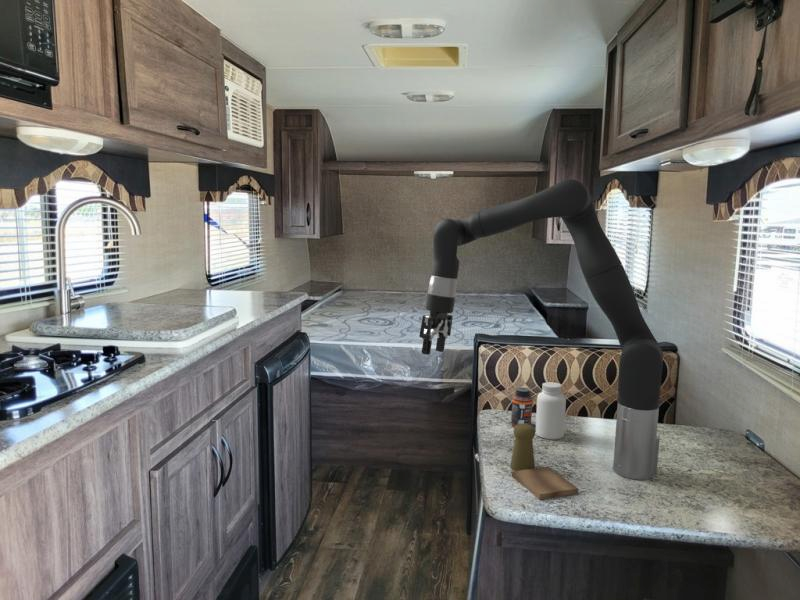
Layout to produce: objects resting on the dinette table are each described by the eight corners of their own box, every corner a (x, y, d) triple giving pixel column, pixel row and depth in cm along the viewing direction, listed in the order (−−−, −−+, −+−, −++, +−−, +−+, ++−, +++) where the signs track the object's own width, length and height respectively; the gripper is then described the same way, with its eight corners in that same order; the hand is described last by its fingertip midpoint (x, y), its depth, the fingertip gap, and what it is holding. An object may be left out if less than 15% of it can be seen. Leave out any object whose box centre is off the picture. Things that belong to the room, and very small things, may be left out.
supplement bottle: (525, 430, 167) (527, 393, 165) (507, 426, 170) (509, 389, 169) (534, 425, 172) (536, 388, 170) (516, 420, 175) (518, 385, 174)
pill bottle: (531, 430, 167) (534, 380, 165) (557, 429, 168) (560, 380, 166) (540, 440, 159) (543, 388, 157) (568, 440, 160) (571, 388, 158)
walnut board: (547, 471, 140) (548, 466, 140) (577, 493, 129) (578, 488, 129) (511, 476, 137) (511, 471, 137) (539, 499, 126) (539, 494, 126)
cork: (505, 464, 143) (507, 422, 142) (525, 461, 146) (527, 419, 144) (519, 474, 138) (521, 431, 136) (539, 470, 140) (542, 427, 139)
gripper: (442, 296, 145) (433, 358, 147) (464, 296, 158) (456, 353, 159) (417, 291, 149) (408, 352, 151) (440, 291, 161) (432, 347, 163)
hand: (432, 352), depth 155 cm, fingers open, 8 cm apart
